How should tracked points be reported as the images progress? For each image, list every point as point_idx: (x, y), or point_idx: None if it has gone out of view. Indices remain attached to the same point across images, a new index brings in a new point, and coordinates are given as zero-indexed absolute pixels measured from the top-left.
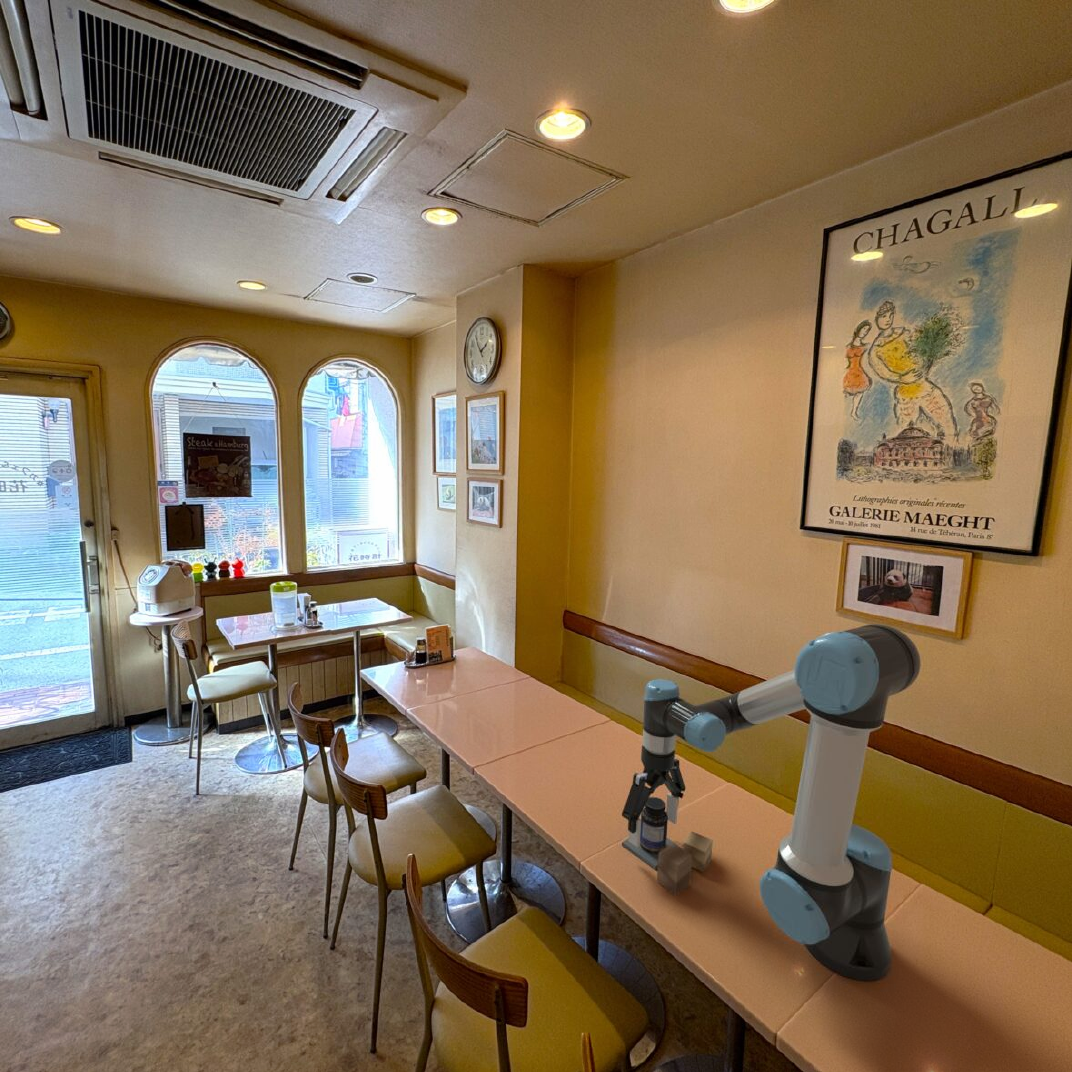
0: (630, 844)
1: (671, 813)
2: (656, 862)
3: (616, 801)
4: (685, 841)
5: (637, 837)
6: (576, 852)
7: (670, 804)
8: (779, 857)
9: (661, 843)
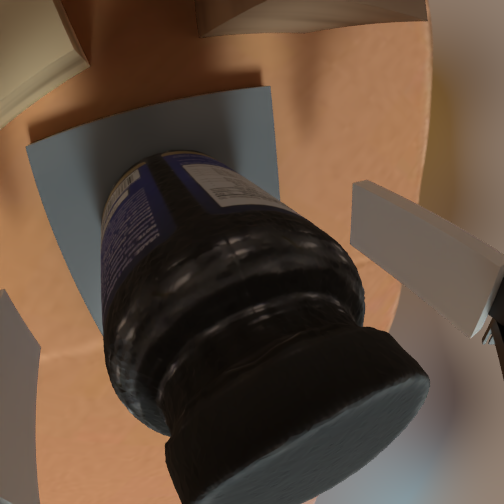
0: None
1: (9, 360)
2: (245, 103)
3: (151, 441)
4: (49, 57)
5: (410, 203)
6: (395, 278)
7: (11, 428)
8: None
9: (191, 160)
